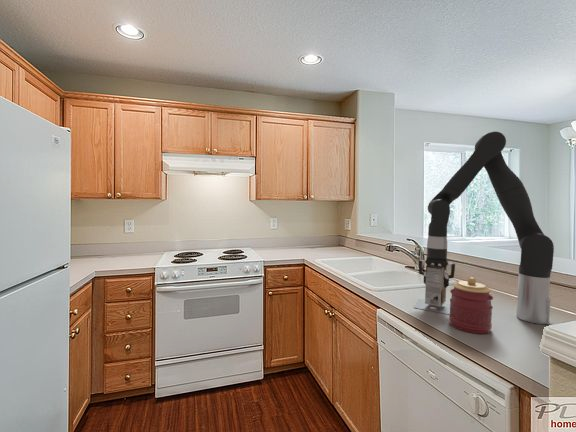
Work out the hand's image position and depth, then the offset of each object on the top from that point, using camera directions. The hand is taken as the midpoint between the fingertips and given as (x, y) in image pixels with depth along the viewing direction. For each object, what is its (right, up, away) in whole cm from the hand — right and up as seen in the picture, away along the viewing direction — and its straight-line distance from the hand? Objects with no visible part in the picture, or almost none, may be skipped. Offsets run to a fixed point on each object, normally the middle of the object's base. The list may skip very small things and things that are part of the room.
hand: (435, 285), depth 125 cm
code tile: (0, -9, +1) cm, 9 cm away
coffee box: (0, -7, 0) cm, 7 cm away
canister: (+2, -10, -19) cm, 22 cm away
